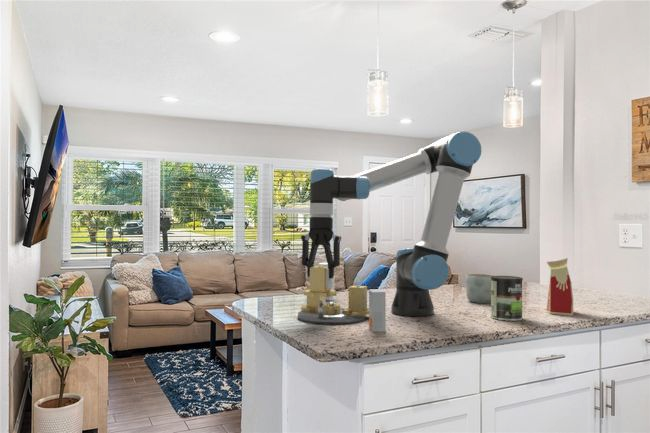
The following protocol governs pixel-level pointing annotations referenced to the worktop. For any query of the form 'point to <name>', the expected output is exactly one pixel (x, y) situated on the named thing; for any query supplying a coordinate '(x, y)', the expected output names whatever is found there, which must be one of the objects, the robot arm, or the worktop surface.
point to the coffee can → (506, 298)
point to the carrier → (336, 309)
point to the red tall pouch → (560, 289)
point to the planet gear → (318, 283)
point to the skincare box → (377, 310)
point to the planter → (479, 287)
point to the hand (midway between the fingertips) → (320, 287)
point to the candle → (331, 282)
